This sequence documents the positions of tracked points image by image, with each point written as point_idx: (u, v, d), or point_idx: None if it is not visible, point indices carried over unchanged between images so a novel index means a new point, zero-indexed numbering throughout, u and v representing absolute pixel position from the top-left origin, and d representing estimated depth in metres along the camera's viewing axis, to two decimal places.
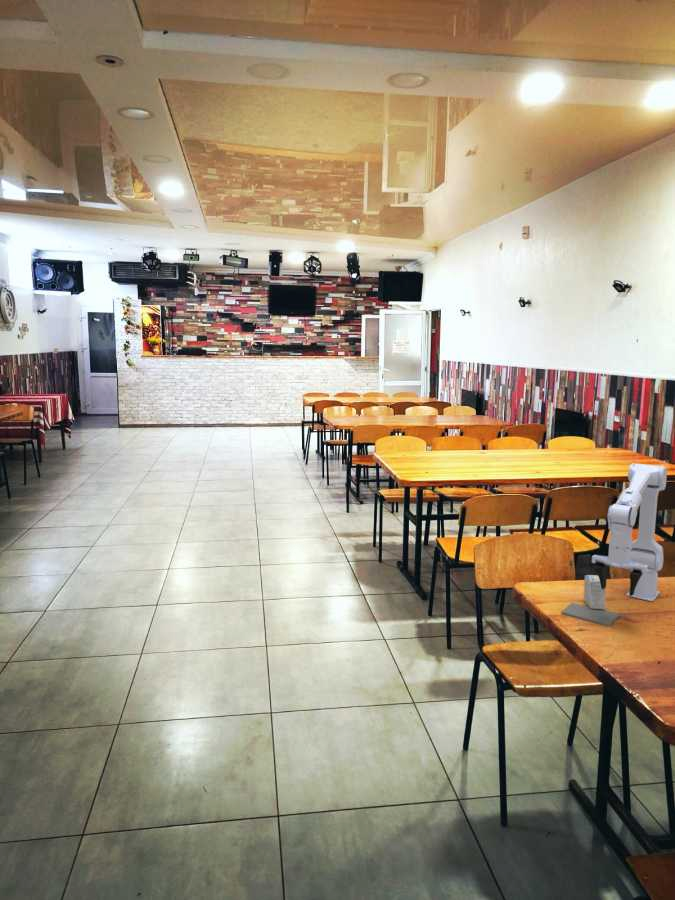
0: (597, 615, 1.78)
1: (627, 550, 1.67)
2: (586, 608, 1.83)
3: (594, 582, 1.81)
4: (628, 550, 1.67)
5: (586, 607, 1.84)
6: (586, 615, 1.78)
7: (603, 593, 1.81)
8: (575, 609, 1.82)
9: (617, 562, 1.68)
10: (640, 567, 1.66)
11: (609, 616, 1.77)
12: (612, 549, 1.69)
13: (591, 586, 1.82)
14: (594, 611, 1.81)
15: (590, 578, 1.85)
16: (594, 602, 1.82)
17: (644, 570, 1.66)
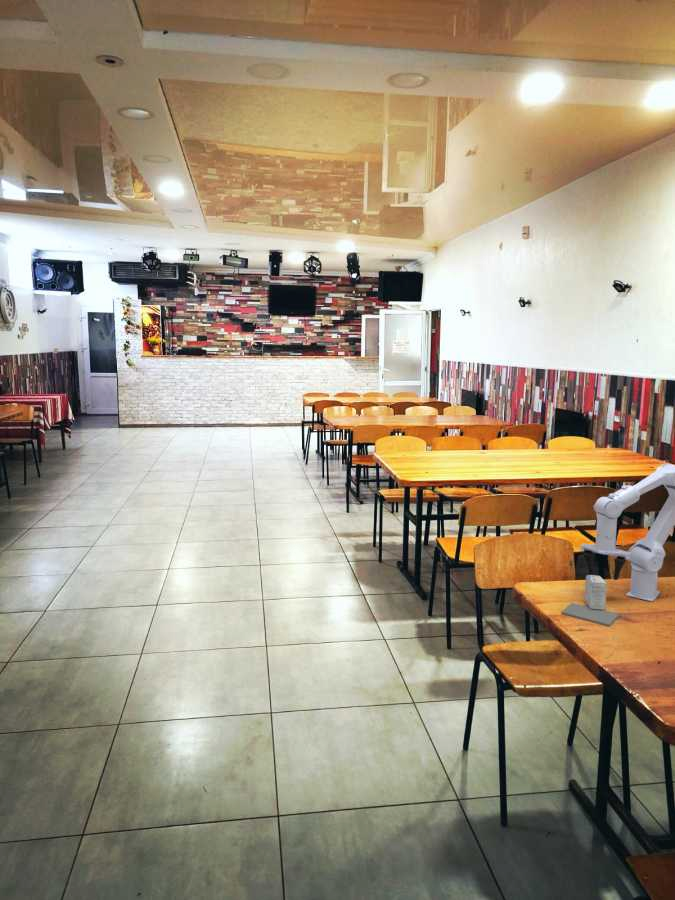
0: (597, 615, 1.78)
1: (612, 539, 1.86)
2: (586, 608, 1.83)
3: (595, 583, 1.81)
4: (613, 539, 1.86)
5: (586, 607, 1.84)
6: (586, 615, 1.78)
7: (604, 594, 1.81)
8: (575, 609, 1.82)
9: (603, 549, 1.87)
10: (624, 554, 1.84)
11: (609, 616, 1.77)
12: (599, 538, 1.87)
13: (592, 587, 1.81)
14: (594, 611, 1.81)
15: (592, 578, 1.85)
16: (594, 602, 1.82)
17: (627, 557, 1.84)
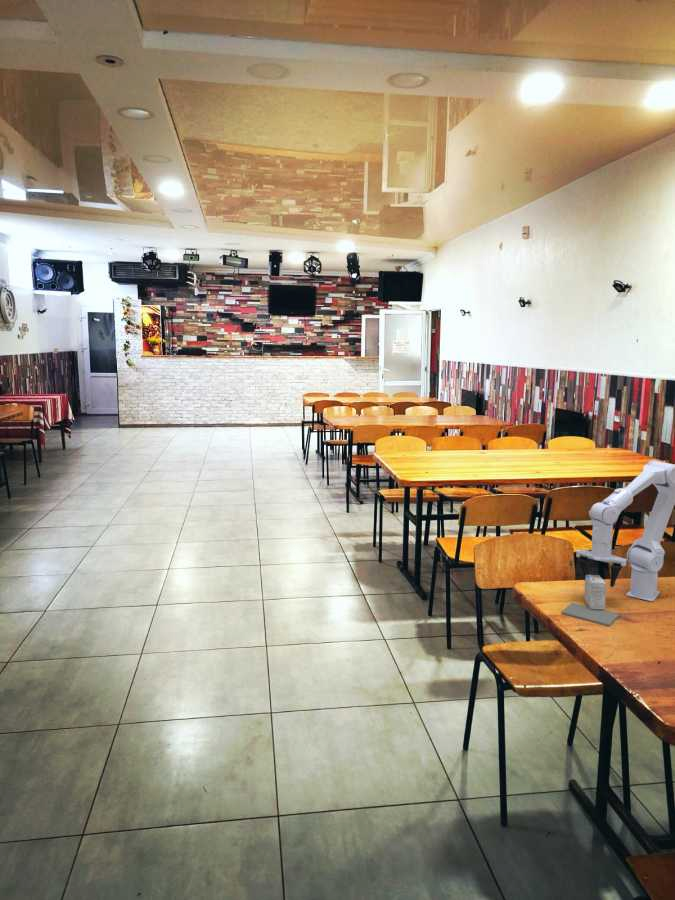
0: (597, 615, 1.78)
1: (608, 545, 1.83)
2: (586, 608, 1.83)
3: (595, 583, 1.81)
4: (609, 545, 1.83)
5: (586, 607, 1.84)
6: (586, 615, 1.78)
7: (603, 594, 1.81)
8: (575, 609, 1.82)
9: (599, 556, 1.84)
10: (619, 561, 1.82)
11: (609, 616, 1.77)
12: (594, 544, 1.85)
13: (592, 587, 1.81)
14: (594, 611, 1.81)
15: (591, 578, 1.84)
16: (594, 603, 1.82)
17: (623, 563, 1.81)
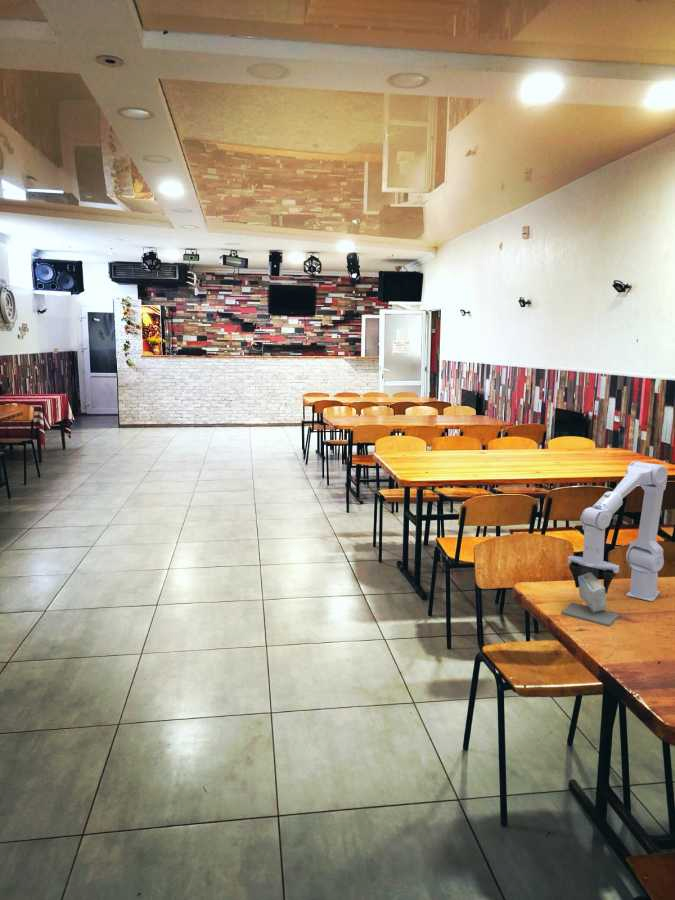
0: (597, 615, 1.78)
1: (600, 551, 1.77)
2: (586, 608, 1.83)
3: (595, 592, 1.76)
4: (601, 551, 1.78)
5: (586, 607, 1.84)
6: (586, 615, 1.78)
7: (604, 597, 1.77)
8: (575, 609, 1.82)
9: (590, 562, 1.78)
10: (612, 567, 1.76)
11: (609, 616, 1.77)
12: (586, 550, 1.79)
13: (593, 595, 1.76)
14: None
15: (587, 584, 1.79)
16: (597, 606, 1.79)
17: (615, 570, 1.76)
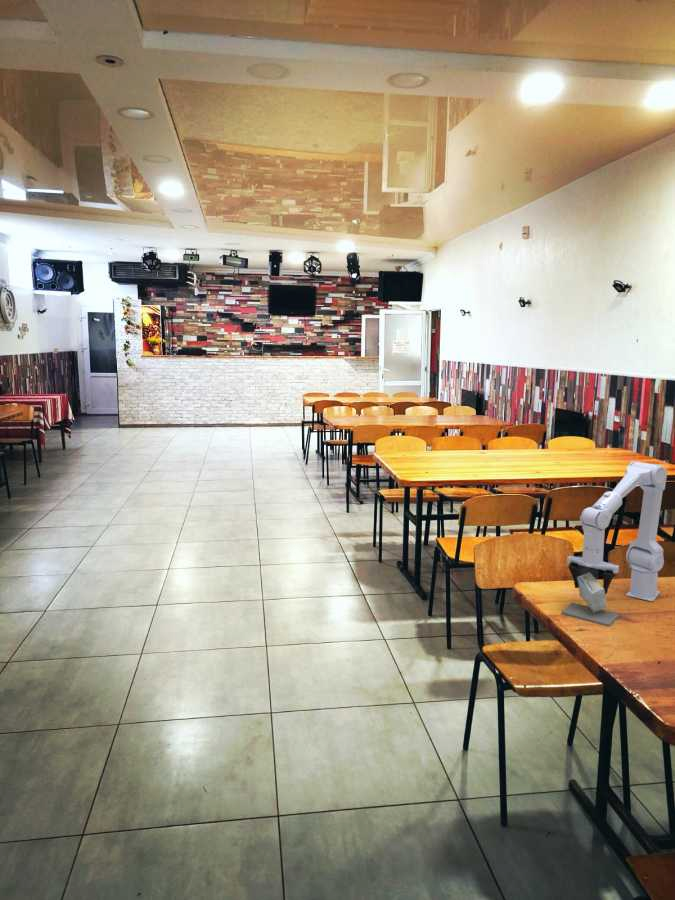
0: (597, 615, 1.78)
1: (599, 551, 1.77)
2: (586, 608, 1.83)
3: (594, 593, 1.75)
4: (600, 551, 1.77)
5: (586, 607, 1.84)
6: (586, 615, 1.78)
7: (604, 597, 1.77)
8: (575, 609, 1.82)
9: (590, 562, 1.78)
10: (611, 567, 1.76)
11: (609, 616, 1.77)
12: (585, 550, 1.79)
13: (592, 597, 1.76)
14: None
15: (587, 585, 1.78)
16: (596, 607, 1.79)
17: (615, 570, 1.75)
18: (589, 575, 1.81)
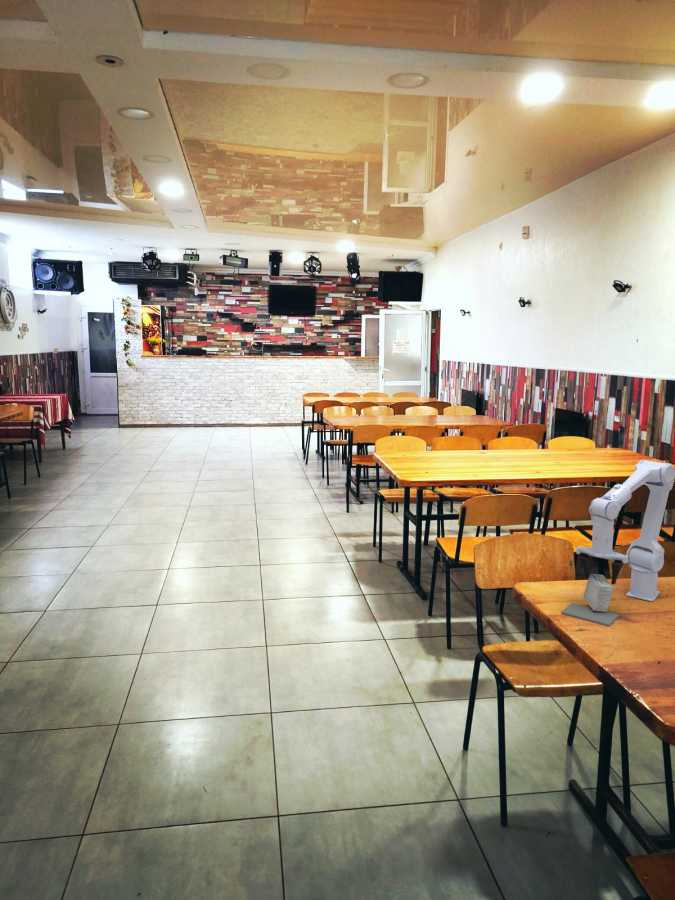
0: (597, 615, 1.78)
1: (609, 541, 1.78)
2: (586, 608, 1.83)
3: (603, 587, 1.77)
4: (610, 541, 1.78)
5: (586, 607, 1.84)
6: (586, 615, 1.78)
7: (609, 597, 1.78)
8: (575, 609, 1.82)
9: (599, 553, 1.79)
10: (621, 557, 1.76)
11: (609, 616, 1.77)
12: (595, 541, 1.79)
13: (599, 590, 1.78)
14: (594, 611, 1.81)
15: (598, 580, 1.81)
16: (598, 605, 1.79)
17: (625, 560, 1.76)
18: (602, 576, 1.83)
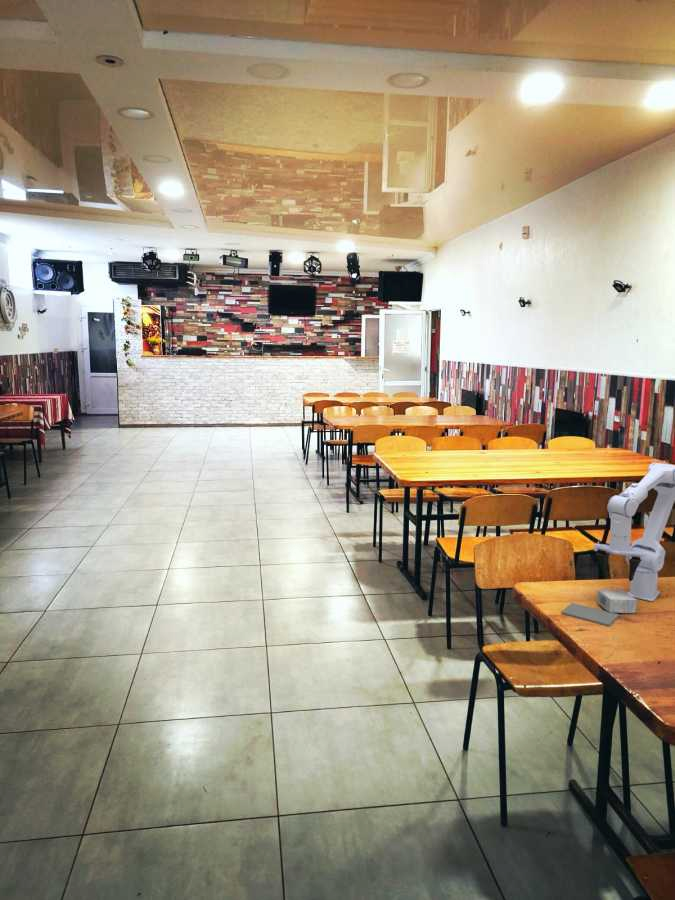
0: (597, 615, 1.78)
1: (627, 538, 1.80)
2: (586, 608, 1.83)
3: (636, 603, 1.80)
4: (628, 538, 1.80)
5: (586, 607, 1.84)
6: (586, 615, 1.78)
7: (624, 611, 1.80)
8: (575, 609, 1.82)
9: (617, 550, 1.81)
10: (639, 554, 1.79)
11: (609, 616, 1.77)
12: (613, 537, 1.82)
13: (632, 600, 1.80)
14: (594, 611, 1.81)
15: None
16: (616, 603, 1.79)
17: (642, 557, 1.78)
18: None
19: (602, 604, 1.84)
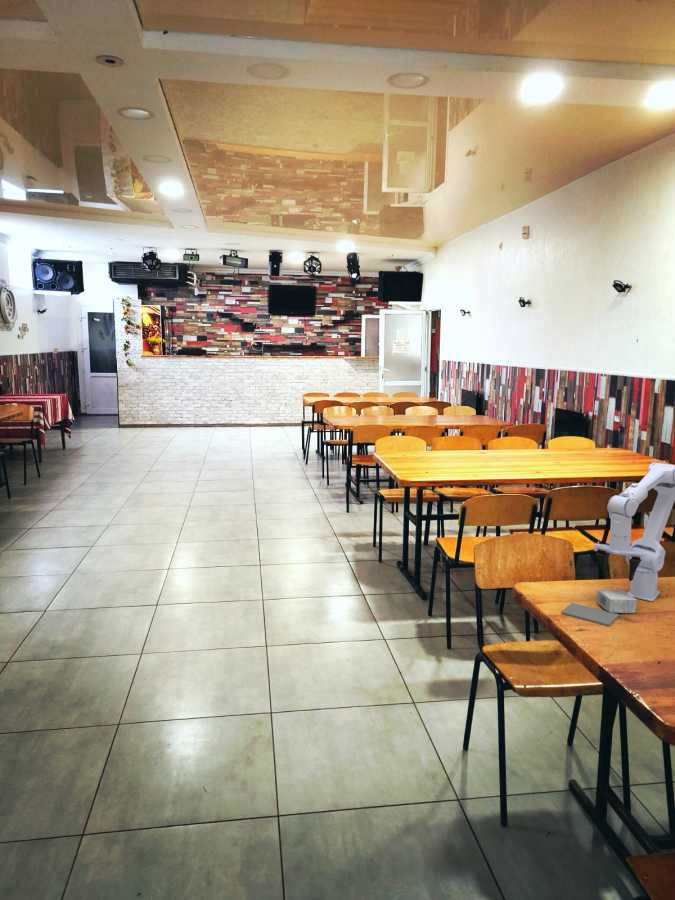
0: (597, 615, 1.78)
1: (627, 538, 1.80)
2: (586, 608, 1.83)
3: (636, 603, 1.80)
4: (628, 538, 1.80)
5: (586, 607, 1.84)
6: (586, 615, 1.78)
7: (624, 611, 1.80)
8: (575, 609, 1.82)
9: (617, 550, 1.81)
10: (639, 554, 1.79)
11: (609, 616, 1.77)
12: (613, 537, 1.82)
13: (632, 600, 1.80)
14: (594, 611, 1.81)
15: None
16: (616, 603, 1.79)
17: (642, 557, 1.78)
18: None
19: (602, 604, 1.84)
